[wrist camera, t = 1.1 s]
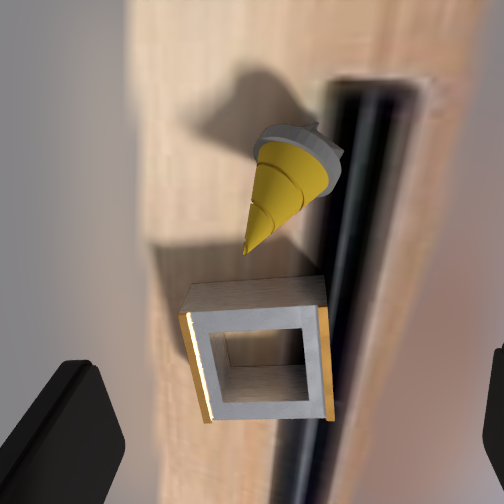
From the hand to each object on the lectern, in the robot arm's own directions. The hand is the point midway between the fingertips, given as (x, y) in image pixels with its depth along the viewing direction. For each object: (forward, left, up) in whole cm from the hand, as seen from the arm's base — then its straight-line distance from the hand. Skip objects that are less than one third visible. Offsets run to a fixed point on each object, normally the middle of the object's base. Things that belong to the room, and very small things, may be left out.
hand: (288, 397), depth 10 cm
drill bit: (0, 0, -20) cm, 20 cm away
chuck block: (+13, -4, -20) cm, 24 cm away
